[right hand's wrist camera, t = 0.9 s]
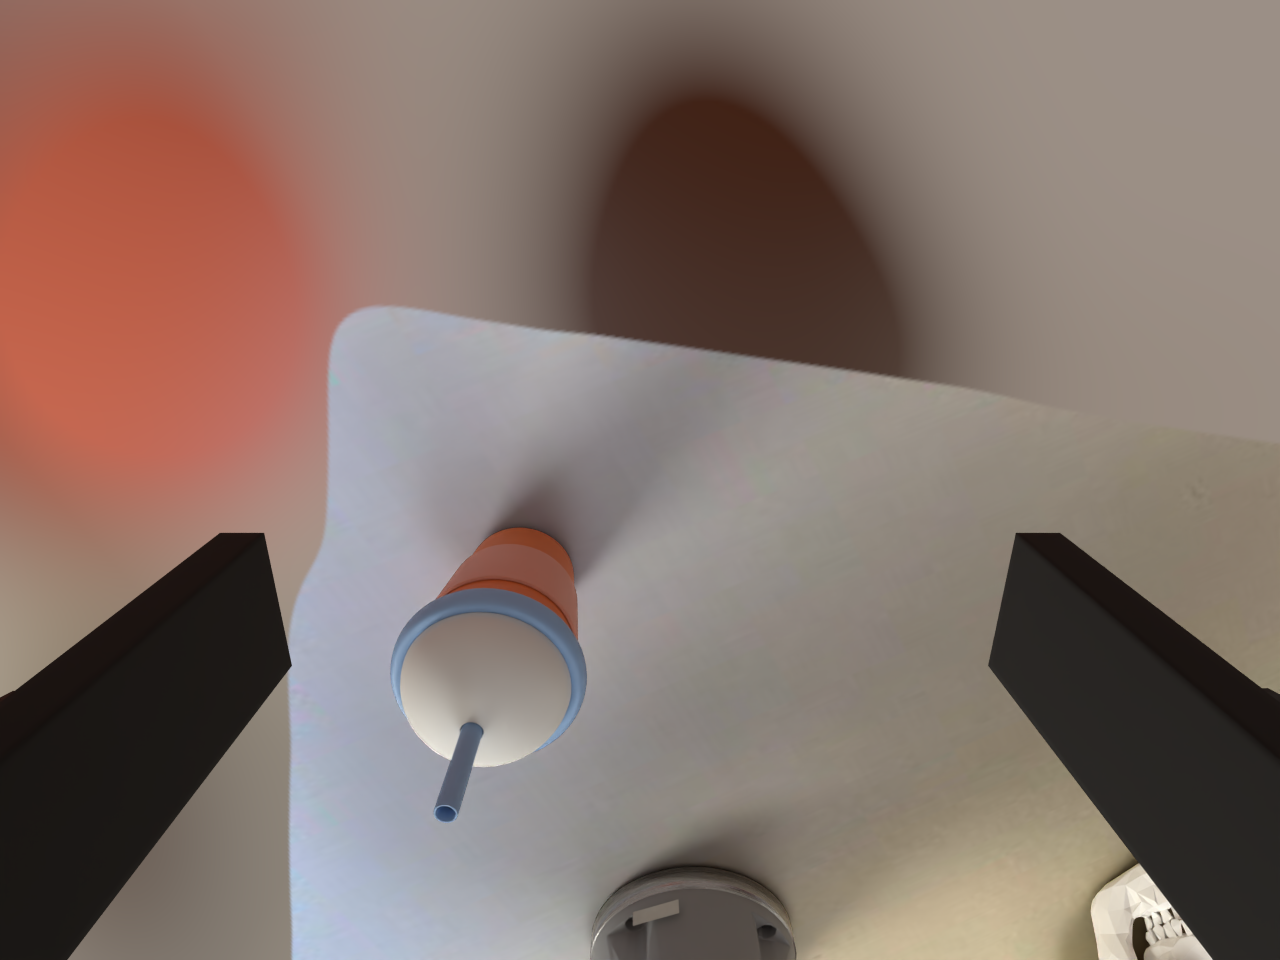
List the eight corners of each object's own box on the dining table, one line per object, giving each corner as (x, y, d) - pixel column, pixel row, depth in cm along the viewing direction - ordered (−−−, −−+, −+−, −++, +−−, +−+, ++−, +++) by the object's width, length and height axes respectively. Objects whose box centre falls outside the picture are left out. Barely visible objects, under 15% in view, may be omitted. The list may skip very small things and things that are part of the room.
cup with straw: (580, 490, 40) (536, 693, 24) (612, 623, 44) (594, 885, 27) (427, 517, 41) (280, 734, 24) (470, 647, 44) (367, 917, 28)
